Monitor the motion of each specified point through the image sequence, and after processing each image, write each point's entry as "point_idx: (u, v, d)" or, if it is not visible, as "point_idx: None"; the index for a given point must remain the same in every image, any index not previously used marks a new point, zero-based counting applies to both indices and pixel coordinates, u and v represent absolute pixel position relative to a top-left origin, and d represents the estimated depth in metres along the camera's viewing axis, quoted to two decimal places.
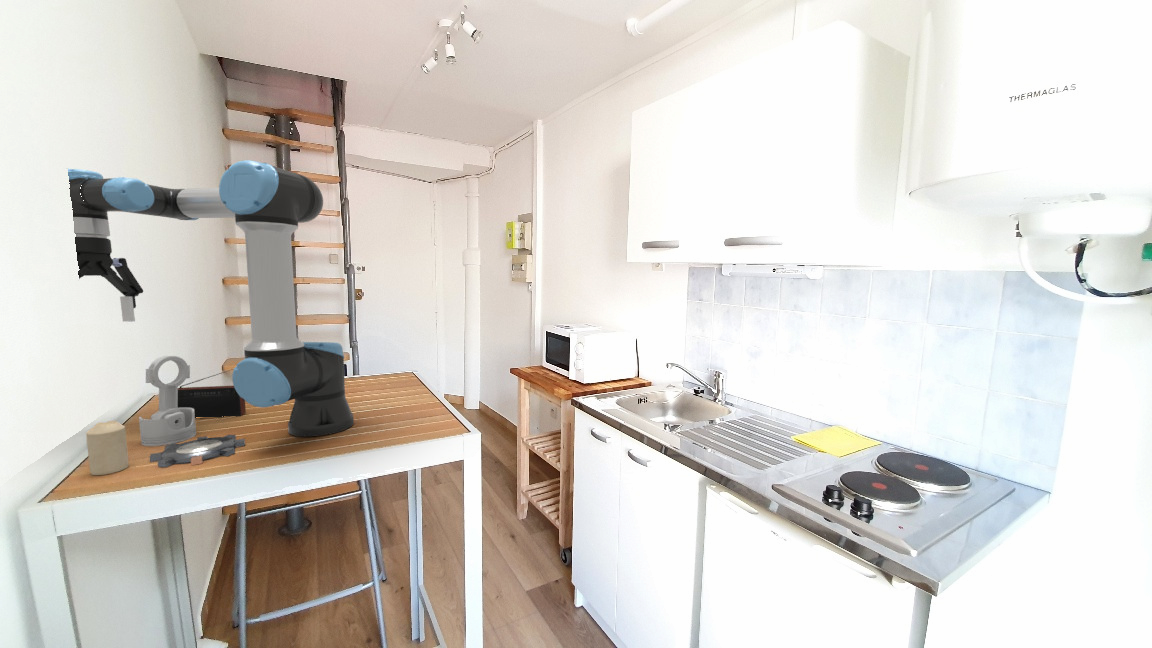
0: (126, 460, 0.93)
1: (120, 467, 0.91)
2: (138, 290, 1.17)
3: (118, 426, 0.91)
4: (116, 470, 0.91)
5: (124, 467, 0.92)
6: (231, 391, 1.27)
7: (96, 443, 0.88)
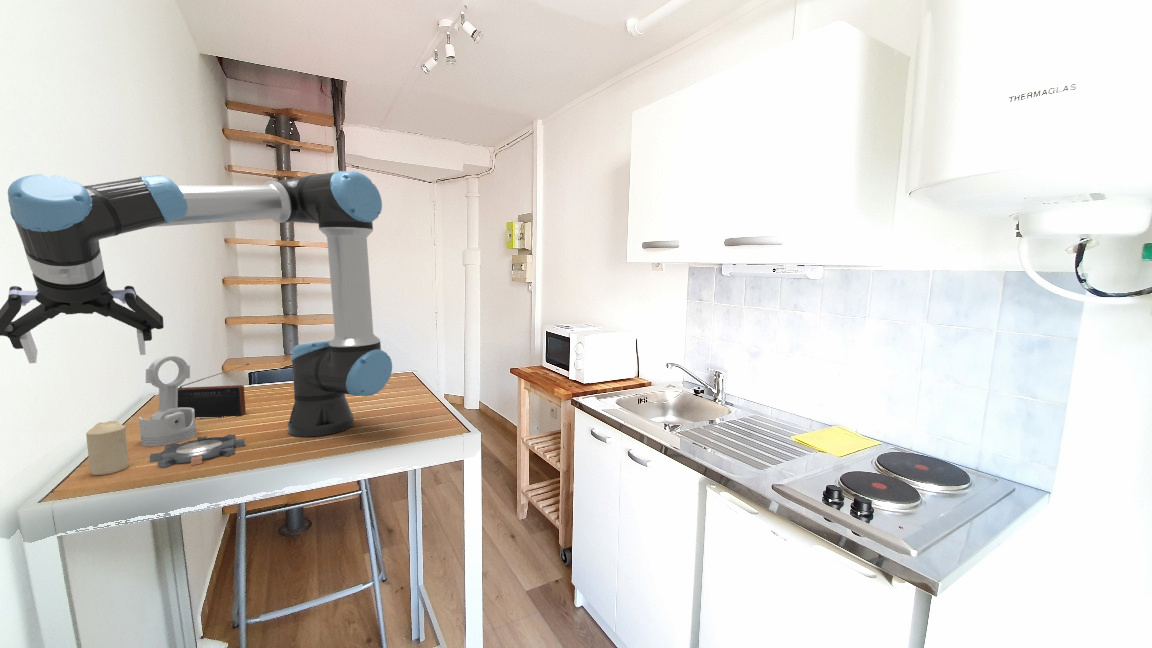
0: (126, 460, 0.93)
1: (120, 467, 0.91)
2: None
3: (118, 426, 0.91)
4: (116, 470, 0.91)
5: (124, 467, 0.92)
6: (231, 391, 1.27)
7: (96, 443, 0.88)
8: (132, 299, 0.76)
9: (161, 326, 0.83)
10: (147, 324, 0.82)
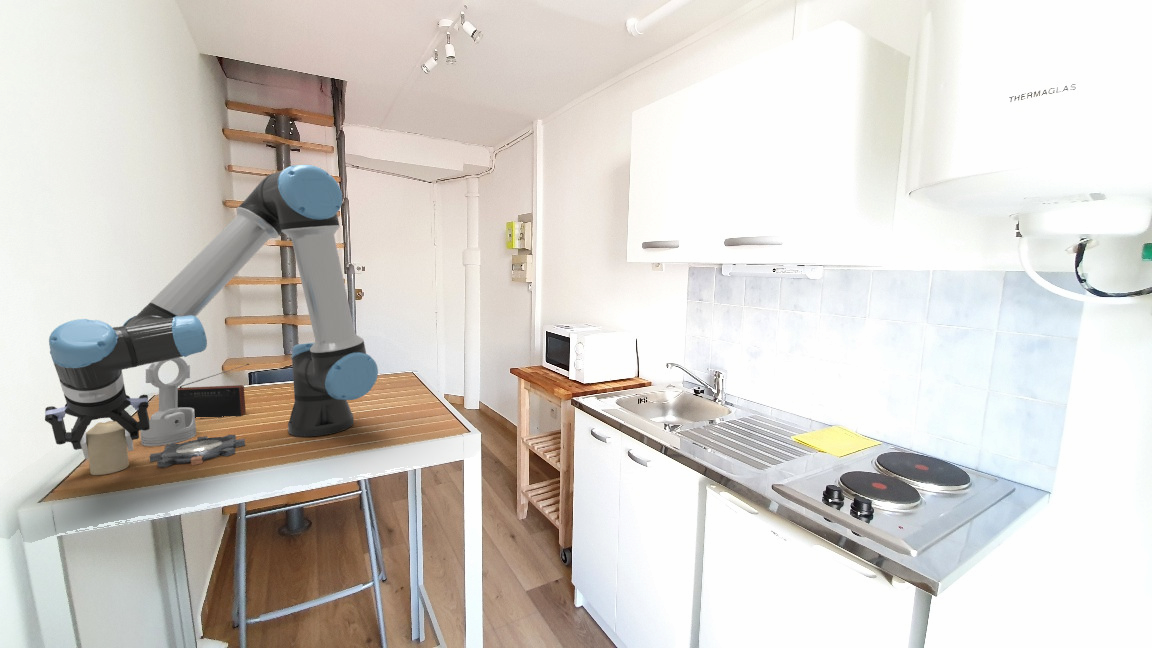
0: (126, 460, 0.93)
1: (120, 467, 0.91)
2: None
3: (118, 426, 0.91)
4: (116, 470, 0.91)
5: (124, 467, 0.92)
6: (231, 391, 1.27)
7: (96, 443, 0.88)
8: (145, 407, 0.88)
9: (148, 428, 0.93)
10: (135, 427, 0.92)
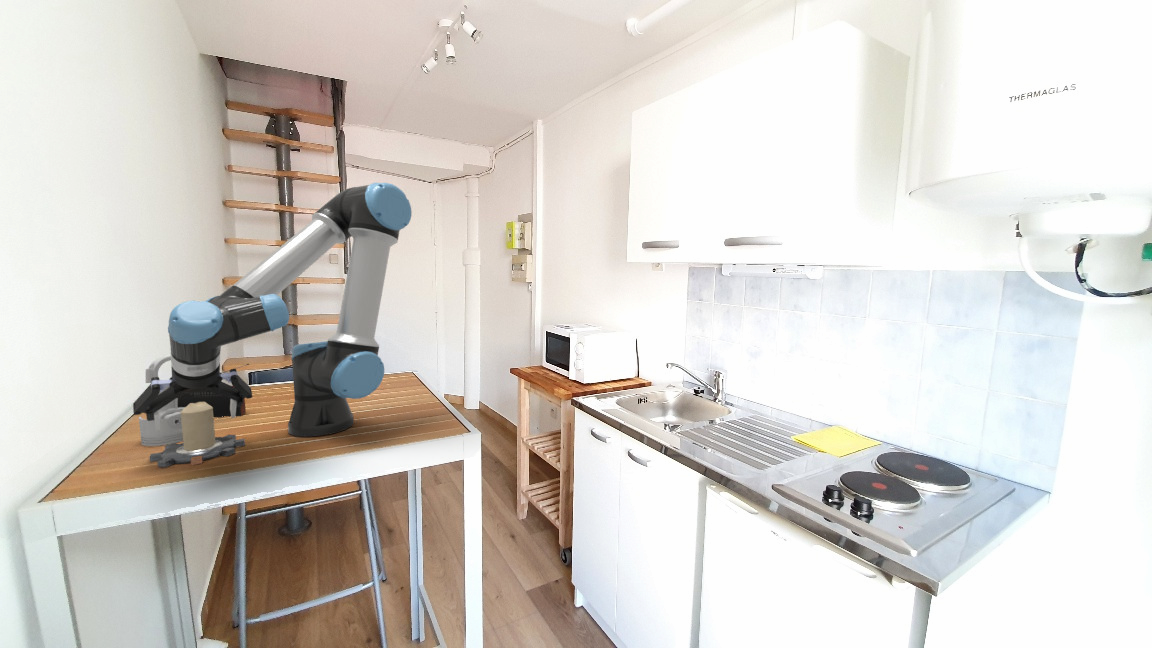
0: (214, 437, 1.02)
1: (209, 444, 1.00)
2: None
3: (207, 406, 1.01)
4: (206, 446, 1.00)
5: (212, 443, 1.01)
6: None
7: (190, 421, 0.98)
8: (236, 379, 0.97)
9: (251, 396, 1.04)
10: (240, 395, 1.03)
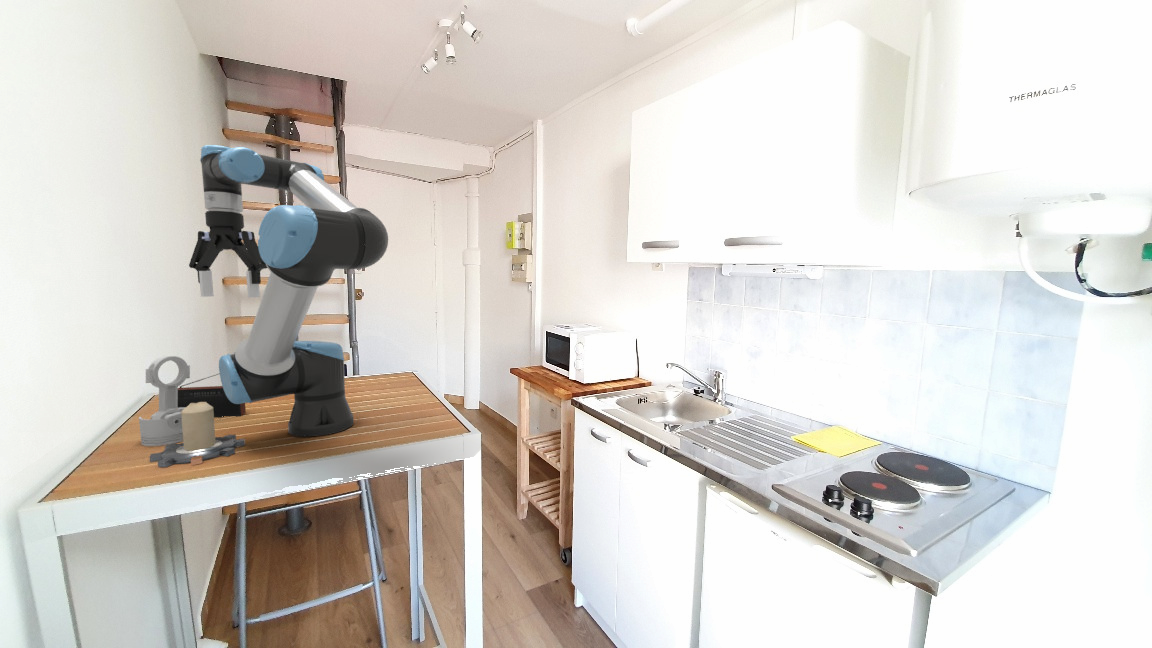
0: (214, 438, 1.02)
1: (209, 444, 1.00)
2: None
3: (208, 406, 1.01)
4: (206, 446, 1.00)
5: (212, 444, 1.01)
6: None
7: (190, 421, 0.98)
8: (244, 234, 1.09)
9: (258, 265, 1.10)
10: (254, 265, 1.11)
